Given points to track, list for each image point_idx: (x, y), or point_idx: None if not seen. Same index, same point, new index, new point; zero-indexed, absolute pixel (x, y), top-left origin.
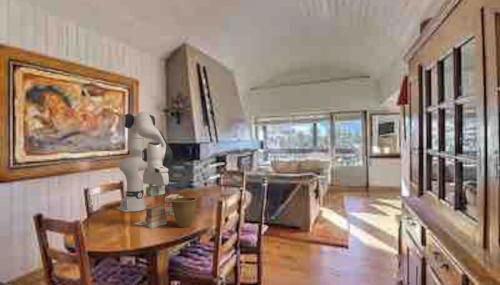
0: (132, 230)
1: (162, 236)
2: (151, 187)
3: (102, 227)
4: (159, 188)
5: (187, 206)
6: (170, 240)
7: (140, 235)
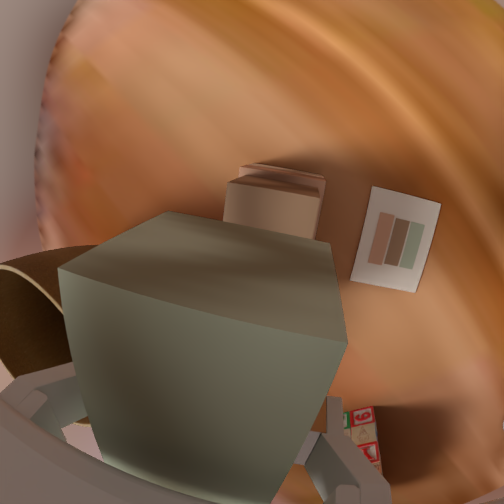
0: (336, 79)
1: (100, 88)
2: (95, 322)
3: None
4: (53, 376)
5: (3, 283)
6: (50, 79)
7: (208, 34)
